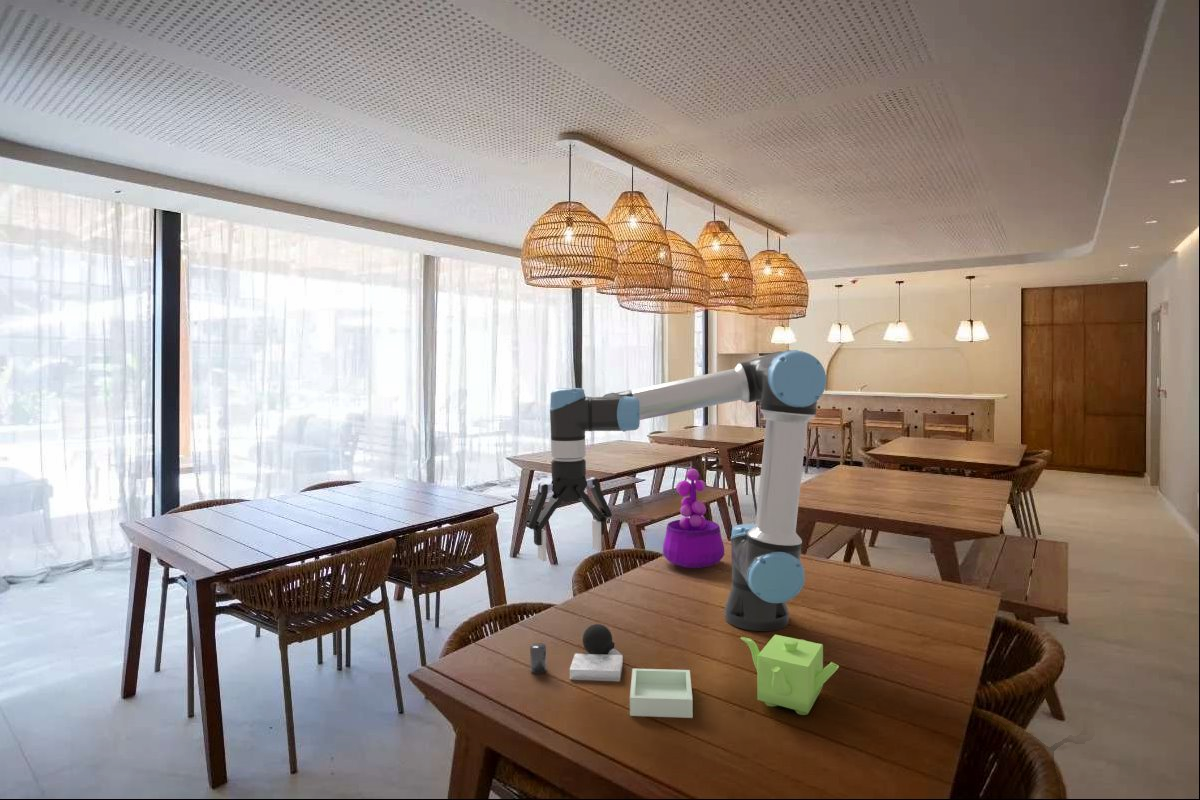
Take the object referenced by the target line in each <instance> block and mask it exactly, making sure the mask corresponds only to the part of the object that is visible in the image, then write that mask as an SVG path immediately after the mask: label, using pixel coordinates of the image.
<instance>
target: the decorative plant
mask: <svg viewBox="0 0 1200 800" xmlns="http://www.w3.org/2000/svg"><path fill="white" fill-rule="evenodd" d="M685 476H686V478H687V479H688V480H689V481H691V483H690V482H689V481H688V480H686V479H685V480H681V481H679V482H678V483H676V485H675V487H676V488H675V491H676V492H677V494H678V495H680V497H683V498H682V499H681V507H680V510H679V512H680V513H679V514H680V515H682V516H683V517H681V518H680V519H677V520H676V519H675V520H672V521H669V522H668V524H667V525H666V532H665V537H664V540H663V545H662V554H663V556H664V557H665V559H667V561H668V562H670V564H673V565H677V566H680V567H683V568H688V569H703V568H706V567H711V566H714V565H716V564H717V563H719V562H720V561H721V560H722V559H723V558H724V556H725V546H724V542H723V538H722V534H721V533H722V532H721V527H720V525H719V523H717V522H715V521H711V520H708V519H706V518H705V517H704V516H703V515H705V514H706V513H707V512H706V511H707V507H706V505H705V504H704V502H702V501H700V500H697V492H703V491H704V490H705V489H706V487H707V485H706V482H705V481H704V480H701V479H699V478H700V474H699V470H697V469H695V468H689V469H688V470H687V471H686V474H685ZM688 495H689V496H688Z"/></svg>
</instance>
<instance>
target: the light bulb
mask: <svg viewBox="0 0 1200 800" xmlns="http://www.w3.org/2000/svg"><path fill="white" fill-rule="evenodd" d="M582 645H583V647H584V649H585V651H586V652H587V654H603V655H622V653H620V651H619V650H617V649H616V647H615V643H614V641H613V635H612V632H611V630H610V629H609V628H608V627H607V626H605V625H603V624H599V623H596V624H592V625H590V626H588V627H587V628H586V629H585V630H584V633H583V634H582Z"/></svg>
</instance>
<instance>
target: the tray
mask: <svg viewBox="0 0 1200 800" xmlns="http://www.w3.org/2000/svg"><path fill="white" fill-rule="evenodd" d="M631 669H632V670H631V681H630V691H629V716H630V717H632V716H633V717H657V718H683V719H687V718H688V719H693V711H694V710H693V705H694V704H693V700H694V699H693V692H692V691H693V690H692V681H691V670H690V669H671V668H670V669H666V668H665V669H661V668H658V669H657V668H631Z"/></svg>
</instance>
